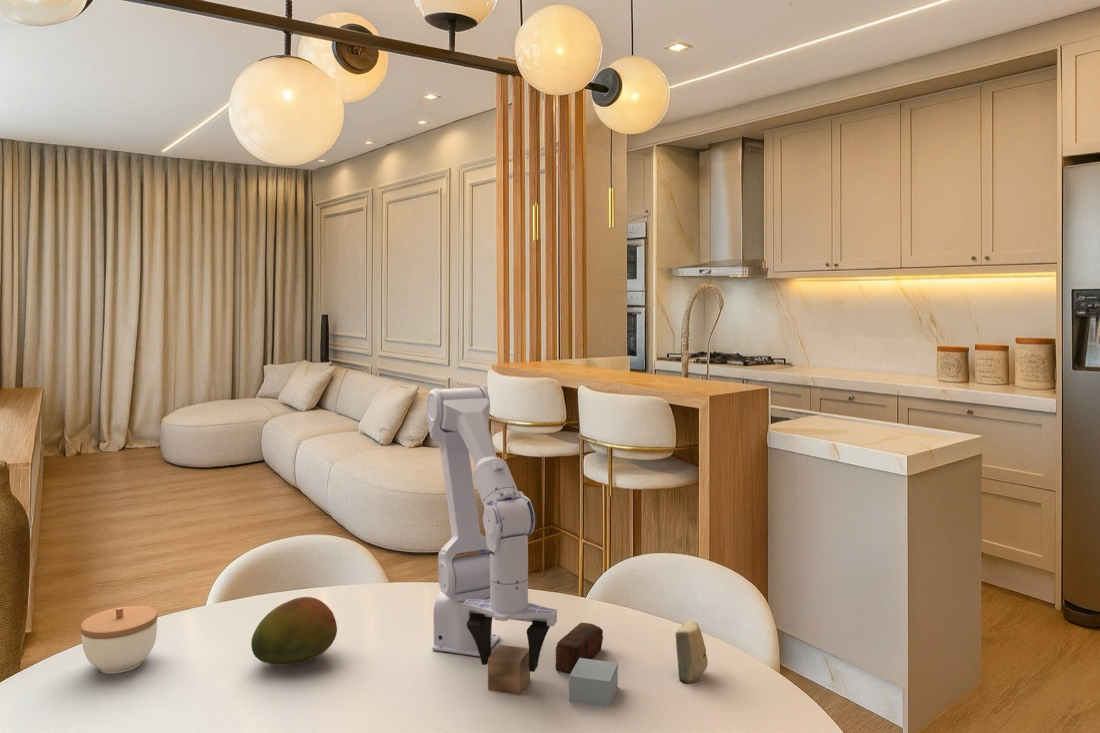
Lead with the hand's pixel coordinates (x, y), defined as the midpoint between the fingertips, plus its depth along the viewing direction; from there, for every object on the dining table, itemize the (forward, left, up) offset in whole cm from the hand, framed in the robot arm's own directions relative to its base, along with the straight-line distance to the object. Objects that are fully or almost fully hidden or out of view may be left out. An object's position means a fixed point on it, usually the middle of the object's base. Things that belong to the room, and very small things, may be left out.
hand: (509, 665), depth 114 cm
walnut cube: (0, 0, -3) cm, 3 cm away
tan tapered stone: (+26, +11, -3) cm, 28 cm away
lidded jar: (-62, -12, -3) cm, 63 cm away
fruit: (-36, -3, -3) cm, 36 cm away
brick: (+8, +11, -3) cm, 14 cm away
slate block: (+13, +1, -3) cm, 13 cm away
